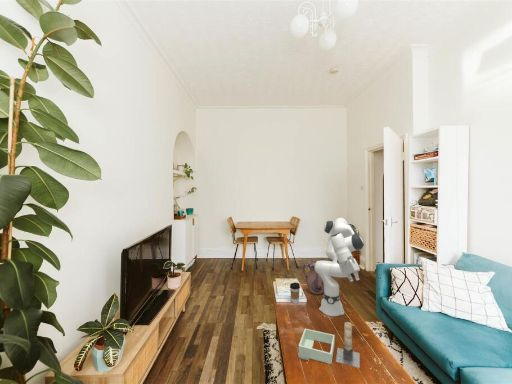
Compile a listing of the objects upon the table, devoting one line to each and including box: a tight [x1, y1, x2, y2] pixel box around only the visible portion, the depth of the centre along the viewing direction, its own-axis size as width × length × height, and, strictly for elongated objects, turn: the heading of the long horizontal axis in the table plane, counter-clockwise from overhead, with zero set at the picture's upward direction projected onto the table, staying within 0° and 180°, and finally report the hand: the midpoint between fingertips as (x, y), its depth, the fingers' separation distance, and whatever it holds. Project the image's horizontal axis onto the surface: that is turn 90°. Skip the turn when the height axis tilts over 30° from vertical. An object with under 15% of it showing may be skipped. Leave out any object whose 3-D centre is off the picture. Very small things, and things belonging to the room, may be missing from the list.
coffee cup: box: [289, 282, 301, 304], centre depth 204 cm, size 8×8×15 cm
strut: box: [342, 321, 354, 361], centre depth 136 cm, size 5×5×19 cm
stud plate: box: [335, 347, 361, 369], centre depth 137 cm, size 12×12×6 cm
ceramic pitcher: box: [302, 262, 324, 295], centre depth 222 cm, size 18×21×25 cm
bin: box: [298, 328, 336, 365], centre depth 143 cm, size 18×18×7 cm
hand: (354, 281), depth 146 cm, fingers open, 8 cm apart
